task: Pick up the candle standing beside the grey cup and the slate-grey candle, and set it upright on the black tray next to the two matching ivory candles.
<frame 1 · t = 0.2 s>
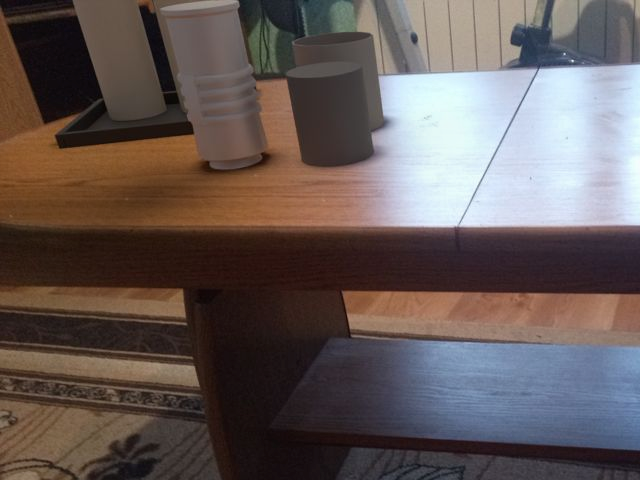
grey candle: (339, 165, 72), on the table
ivory candle left: (138, 113, 95), resting on tray
ivory candle right: (209, 106, 96), resting on tray
cup: (347, 136, 81), on the table
tray: (169, 123, 92), on the table
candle: (238, 172, 73), on the table
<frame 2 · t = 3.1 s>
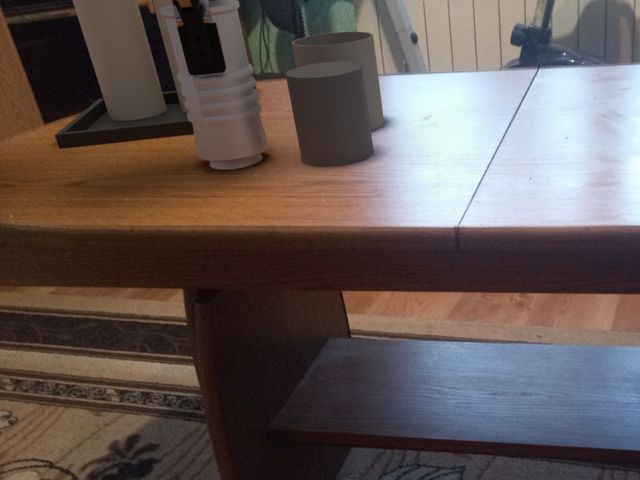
hand: (213, 64, 67), 10 cm above the table, tool pointing down, fingers closed on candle, 6 cm apart
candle: (238, 172, 73), on the table, touching gripper
everything else where it was.
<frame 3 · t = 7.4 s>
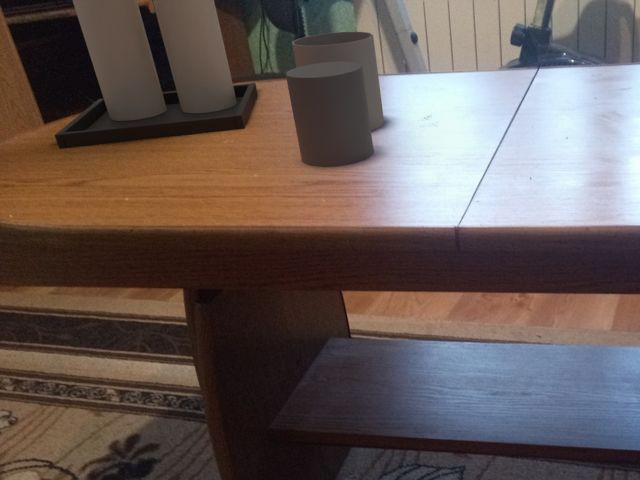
when the fingers open (11 cm above the table, at t = 11.6 s): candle stays where it is, resting on tray.
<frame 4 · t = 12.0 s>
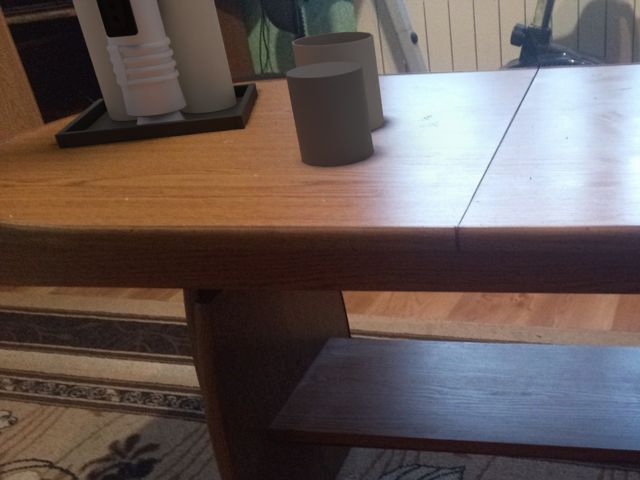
hand: (133, 29, 82), 11 cm above the table, tool pointing down, fingers open, 9 cm apart
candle: (162, 128, 88), resting on tray
everything else where it was.
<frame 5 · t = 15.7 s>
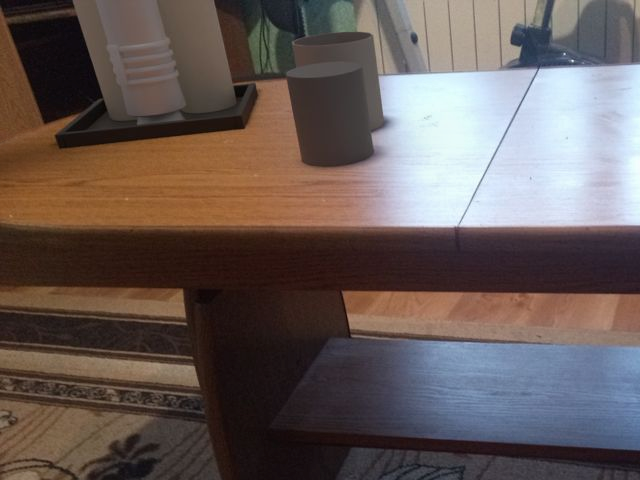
nothing on the table moved.
at the end: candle inside the target area in the tray (0.5 cm from its centre), point 0.4 cm above the tray's base; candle tilted 0°; the gripper is holding nothing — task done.
